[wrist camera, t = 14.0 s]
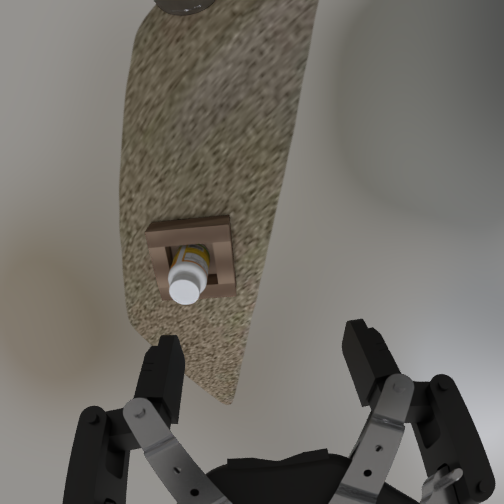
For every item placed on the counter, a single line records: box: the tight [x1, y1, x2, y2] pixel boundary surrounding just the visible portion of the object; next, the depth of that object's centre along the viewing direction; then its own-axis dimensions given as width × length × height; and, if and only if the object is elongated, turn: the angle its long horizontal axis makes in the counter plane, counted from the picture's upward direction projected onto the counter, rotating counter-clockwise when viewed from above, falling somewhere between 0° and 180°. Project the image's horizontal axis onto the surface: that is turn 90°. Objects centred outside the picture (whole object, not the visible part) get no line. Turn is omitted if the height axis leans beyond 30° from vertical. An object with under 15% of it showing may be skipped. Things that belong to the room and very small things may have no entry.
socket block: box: [145, 215, 236, 301], centre depth 43 cm, size 12×12×4 cm
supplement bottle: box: [168, 244, 210, 305], centre depth 40 cm, size 5×5×10 cm
